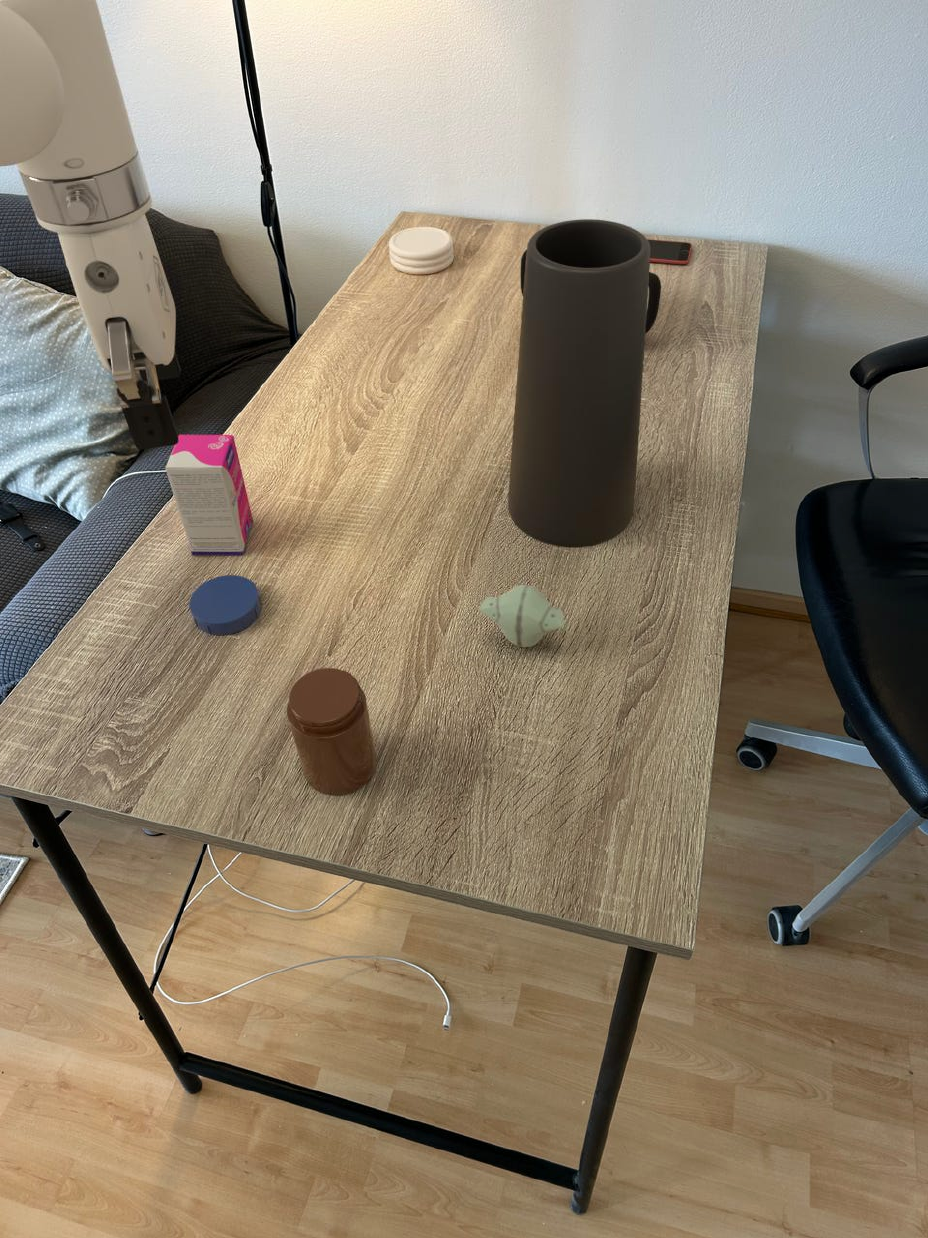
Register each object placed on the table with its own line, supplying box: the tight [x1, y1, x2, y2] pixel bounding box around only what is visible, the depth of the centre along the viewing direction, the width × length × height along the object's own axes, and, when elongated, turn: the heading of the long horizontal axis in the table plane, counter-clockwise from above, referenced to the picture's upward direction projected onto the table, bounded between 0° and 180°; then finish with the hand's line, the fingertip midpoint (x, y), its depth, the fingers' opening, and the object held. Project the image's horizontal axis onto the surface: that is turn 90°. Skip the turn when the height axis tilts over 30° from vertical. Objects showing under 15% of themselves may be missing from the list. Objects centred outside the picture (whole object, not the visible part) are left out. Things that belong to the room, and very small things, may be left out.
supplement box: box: [164, 434, 254, 556], centre depth 92 cm, size 6×6×12 cm
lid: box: [189, 574, 263, 636], centre depth 88 cm, size 7×7×2 cm
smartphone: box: [646, 238, 693, 265], centre depth 139 cm, size 7×1×14 cm
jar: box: [286, 667, 378, 796], centre depth 72 cm, size 6×6×9 cm
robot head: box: [477, 584, 565, 648], centre depth 82 cm, size 8×4×7 cm, turn 73°
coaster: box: [388, 226, 455, 276], centre depth 139 cm, size 10×10×4 cm
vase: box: [507, 218, 651, 548], centre depth 88 cm, size 14×14×29 cm
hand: (160, 409), depth 72 cm, fingers open, 9 cm apart
